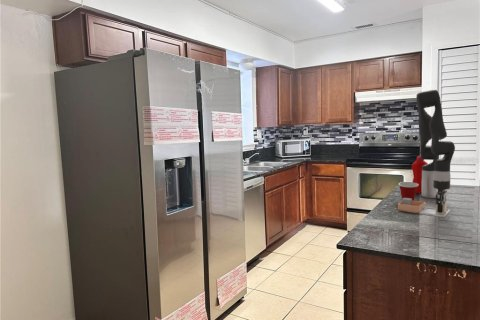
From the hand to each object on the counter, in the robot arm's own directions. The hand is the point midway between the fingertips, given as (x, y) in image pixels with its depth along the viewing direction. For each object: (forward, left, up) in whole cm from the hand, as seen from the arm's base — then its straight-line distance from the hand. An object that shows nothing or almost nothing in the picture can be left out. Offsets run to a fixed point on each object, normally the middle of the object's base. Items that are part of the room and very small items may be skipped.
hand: (440, 211), depth 174 cm
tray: (0, -3, -2) cm, 3 cm away
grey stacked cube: (0, -17, -1) cm, 17 cm away
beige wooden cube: (0, 0, -1) cm, 1 cm away
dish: (0, -14, -2) cm, 14 cm away
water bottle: (-50, -23, -2) cm, 55 cm away
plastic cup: (-15, -20, -2) cm, 25 cm away
